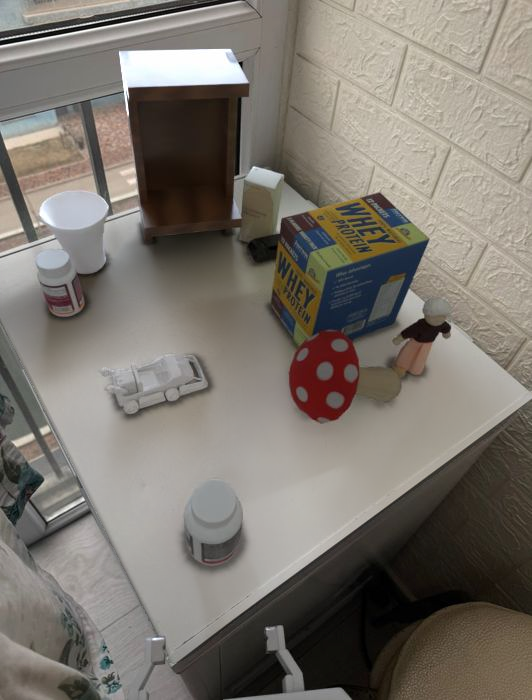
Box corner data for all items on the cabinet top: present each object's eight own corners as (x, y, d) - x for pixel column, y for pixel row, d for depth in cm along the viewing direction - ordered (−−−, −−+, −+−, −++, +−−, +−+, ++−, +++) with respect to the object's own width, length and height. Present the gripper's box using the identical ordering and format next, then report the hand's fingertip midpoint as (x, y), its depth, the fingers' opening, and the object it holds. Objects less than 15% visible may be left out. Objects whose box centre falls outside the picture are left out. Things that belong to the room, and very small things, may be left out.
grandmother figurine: (393, 386, 65) (425, 320, 56) (377, 364, 67) (405, 296, 58) (440, 370, 68) (479, 304, 58) (424, 349, 70) (459, 282, 60)
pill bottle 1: (68, 288, 72) (54, 241, 65) (92, 303, 70) (80, 257, 64) (41, 306, 69) (23, 259, 62) (64, 323, 67) (49, 276, 61)
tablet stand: (252, 265, 78) (253, 249, 76) (245, 254, 79) (246, 239, 77) (352, 243, 83) (356, 228, 81) (345, 233, 85) (348, 218, 83)
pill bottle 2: (248, 527, 52) (255, 487, 45) (224, 576, 49) (227, 543, 41) (203, 504, 53) (201, 462, 46) (176, 551, 50) (170, 513, 43)
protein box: (268, 307, 73) (279, 217, 61) (355, 278, 78) (381, 190, 66) (305, 359, 67) (325, 271, 55) (396, 324, 72) (433, 237, 60)
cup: (48, 252, 76) (29, 194, 68) (110, 239, 79) (99, 183, 71) (59, 291, 71) (41, 234, 63) (125, 276, 74) (115, 219, 66)
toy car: (210, 390, 63) (210, 369, 59) (113, 421, 59) (107, 400, 55) (194, 354, 66) (193, 332, 63) (101, 381, 62) (95, 359, 59)
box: (238, 240, 81) (241, 178, 73) (248, 225, 84) (252, 164, 76) (268, 249, 81) (275, 188, 72) (277, 234, 83) (285, 173, 75)
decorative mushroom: (385, 333, 67) (286, 312, 61) (441, 359, 58) (331, 338, 51) (360, 409, 70) (263, 397, 63) (410, 447, 60) (301, 437, 53)
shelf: (149, 266, 76) (127, 87, 56) (141, 225, 82) (119, 50, 62) (240, 255, 79) (250, 83, 59) (226, 217, 85) (230, 48, 65)
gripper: (392, 859, 31) (348, 612, 40) (45, 912, 29) (78, 636, 37) (367, 846, 36) (333, 628, 45) (69, 890, 33) (93, 650, 42)
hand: (215, 632), depth 41 cm, fingers open, 8 cm apart
